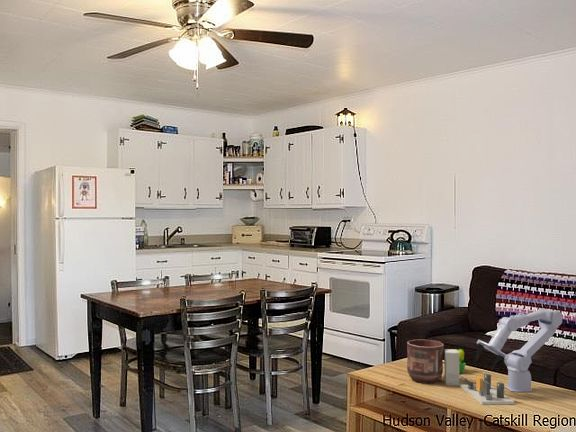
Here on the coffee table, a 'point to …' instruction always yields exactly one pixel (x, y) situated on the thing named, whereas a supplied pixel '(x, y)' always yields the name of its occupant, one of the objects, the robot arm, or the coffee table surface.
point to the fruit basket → (461, 364)
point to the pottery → (425, 360)
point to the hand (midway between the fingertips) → (483, 365)
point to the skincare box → (451, 367)
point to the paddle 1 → (467, 381)
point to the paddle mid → (479, 383)
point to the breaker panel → (495, 394)
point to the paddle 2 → (486, 388)
